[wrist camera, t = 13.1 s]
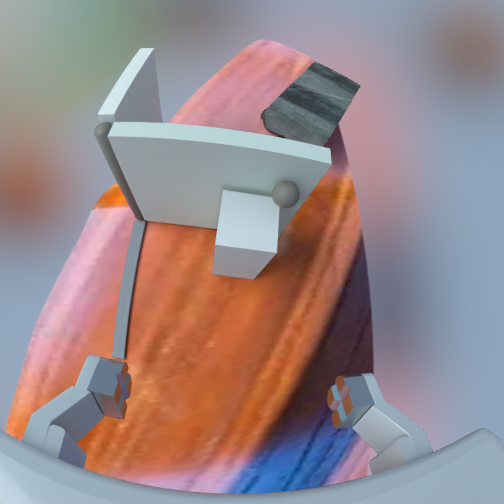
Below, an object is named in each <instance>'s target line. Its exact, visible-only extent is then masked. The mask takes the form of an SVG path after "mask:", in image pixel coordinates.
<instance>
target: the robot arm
mask: <svg viewBox="0 0 504 504" xmlns="http://www.w3.org/2000/svg"><path fill="white" fill-rule="evenodd" d="M127 371H128V365H127V363H126V362H121V361H117V360H112V359H108V358H104V357H100V356H96V355H92V354H90V355H89V356H88V357H87V359H86V361H85V364H84V366H83V368H82V371H81V373H80V376H79V378H78V381H77V383H76V386H75V387H74V386H71V387H70V388H68V389H67V390H65V391H64V392H63V393H61V394H60V395H58V396H57V397H55V398H54V399H53V400H51V401H50V402H48V403H47V404H45V405H44V406H42V407H41V408H40V409H38V410H37V411H35V412H34V413H32V415H31V417H30V420H29V423H28V425H27V428H26V431H25V434H24V437H23V439H22V441H20V440H18V439H17V438H15V437H13V436H11V435H10V434H8V433H6V432H4V431H3V430H1V429H0V504H504V444H503V442H502V441H501V439H500V438H499V437H498V436H496V435H495V434H493V433H492V432H490V431H489V430H487V429H485V428H480V429H478V430H476V431H474V432H472V433H471V434H469V435H467V436H465V437H463V438H461V439H460V440H458V441H456V442H454V443H452V444H450V445H448V446H446V447H444V448H442V449H440V450H438V451H435V452H433V450H432V448H431V445H430V443H429V440H428V438H427V436H426V433H425V431H424V429H422V428H421V427H420V426H419V425H417V424H416V423H414V422H413V421H412V420H411V419H409V418H408V417H407V416H405V415H404V414H403V413H401V412H400V411H399V410H398V409H396V408H395V407H394V406H392V405H391V404H390V403H389V402H388V403H386V402H385V400H384V397H383V395H382V393H381V391H380V388H379V386H378V384H377V381H376V379H375V377H374V375H373V374H372V373H366V374H354V375H343V376H339V377H337V378H336V380H335V383H336V384H335V385H334V386H332V387H331V388H330V390H329V391H328V396H327V401H328V406H329V408H330V409H331V410H333V414H332V416H331V417H332V420H333V424H334V427H335V429H338V428H346V427H352V428H353V429H354V430H355V431H356V432H357V433H358V434H359V435H360V436H361V437H362V438H363V439H364V440H365V441H366V442H367V443H368V444H369V446H370V447H371V448H372V449H373V450H374V451H375V452H376V453H377V454H378V455H377V456H376V457H374V458H373V459H371V461H370V462H369V464H370V468H371V471H372V475H370V476H367V477H363V478H359V479H355V480H351V481H347V482H343V483H338V484H333V485H328V486H322V487H317V488H310V489H303V490H295V491H286V492H275V493H259V494H217V493H200V492H189V491H180V490H172V489H165V488H159V487H153V486H148V485H143V484H138V483H133V482H129V481H125V480H121V479H117V478H113V477H110V476H106V475H103V474H99V473H96V472H93V471H90V470H87V469H84V466H85V461H86V456H87V455H86V453H85V451H84V450H83V449H82V448H81V447H80V446H79V445H78V444H77V443H78V442H79V441H80V440H81V439H82V438H83V437H84V436H85V435H86V434H87V433H88V432H89V431H90V430H91V429H92V428H93V427H94V426H95V425H96V424H97V423H98V422H99V421H100V420H101V419H102V418H103V417H104V416H108V417H113V418H117V419H122V420H124V418H125V414H126V410H127V404H126V401H125V400H126V399H127V398H129V397H130V393H131V385H132V382H131V376H130V374H129V373H128V372H127Z"/></svg>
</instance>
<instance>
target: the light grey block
mask: <svg viewBox="0 0 504 504" xmlns="http://www.w3.org/2000/svg"><path fill="white" fill-rule="evenodd" d="M278 225H279V206H277V205H276V204H275V202H274V201H273V199H272V197H267V196H261V195H255V194H248V193H242V192H235V191H228V190H223V194H222V201H221V207H220V214H219V221H218V228H217V235H216V242H215V251H214V261H213V271H212V274H215V275H223V276H231V277H239V278H247V279H255V277H256V276H257V275H258V274H259V273H260V272H261V271H262V269H263V268H264V267H265V266H266V265H267V264H268V263H269V261H270V260H271V259H272V258H273V257H274V256H275V254H276V253H277V242H278Z"/></svg>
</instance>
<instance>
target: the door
mask: <svg viewBox="0 0 504 504" xmlns="http://www.w3.org/2000/svg"><path fill="white" fill-rule="evenodd" d="M94 134H95V136H96V139H97V141H98V143H99V146H100V148H101V150H102V152H103V154H104V156H105V158H106V160H107V162H108V165H109V167H110V169H111V171H112V173H113V175H114V177H115V179H116V181H117V183H118V185H119V187H120V189H121V191H122V193H123V194H124V196H125V198H126V200H127V202H128V204H129V206H130V208H131V210H132V211H133V213H134V215H135V217H136V218H137V219H138V220H143V219H145V221H153V222H162V223H171V224H179V225H188V226H196V227H204V228H212V229H217V228H218V221H219V214H220V207H221V201H222V194H223V190H228V191H235V192H242V193H248V194H255V195H261V196H267V197H272V199H273V201H274V202H275V204H276V205H277V206H279V225H278V237H279V236H280V234H281V233H282V232H283V230H284V229H285V227H286V226H287V225H288V223H289V222H290V221H291V219H292V218H293V217H294V215H295V214H296V212H297V211H298V210H299V208H300V207H301V206H302V204H303V203H304V202H305V200H306V199H307V197H308V196H309V195H310V193H311V192H312V191H313V189H314V188H315V187H316V185H317V184H318V182H319V181H320V180H321V178H322V177H323V176H324V174H325V173H326V171H327V170H328V169H329V167H330V166H331V164H332V162H331V151H330V149H329V148H325V147H321V146H317V145H313V144H308V143H304V142H299V141H294V140H290V139H285V138H279V137H274V136H269V135H263V134H257V133H251V132H244V131H238V130H230V129H223V128H214V127H205V126H195V125H184V124H170V123H151V122H114V124H113V126H112V125H111V123H109V122H103V123H100V124H99V125H98V126H96V128H95V129H94Z"/></svg>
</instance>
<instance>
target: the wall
mask: <svg viewBox="0 0 504 504" xmlns="http://www.w3.org/2000/svg"><path fill="white" fill-rule="evenodd" d="M98 117H99V120H100V122H101V123H103V122H109V123H111V125H112V126H113V124H114V122H151V123H163V122H162V115H161V107H160V99H159V91H158V82H157V72H156V62H155V51H154V48H142V49H140V50H139V51H138V53H137V54H136V55H135V57H134V58H133V59H132V61H131V62H130V64H129V65H128V66H127V68H126V69H125V71H124V72H123V74H122V75H121V77H120V78H119V80H118V81H117V83H116V84H115V86H114V88H113V89H112V91H111V92H110V94H109V96H108V97H107V99H106V101H105V103H104V104H103V106H102V108H101V109H100V111H99V113H98ZM145 225H146V222H145V221H136V220H135V221H134V225H133V229H132V233H131V238H130V242H129V247H128V252H127V256H126V261H125V266H124V272H123V277H122V283H121V289H120V295H119V302H118V309H117V316H116V324H115V333H114V342H113V353H112V357H115V358H119V359H125V348H126V338H127V329H128V320H129V313H130V305H131V298H132V292H133V286H134V280H135V274H136V268H137V263H138V258H139V253H140V248H141V243H142V238H143V234H144V229H145Z"/></svg>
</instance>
